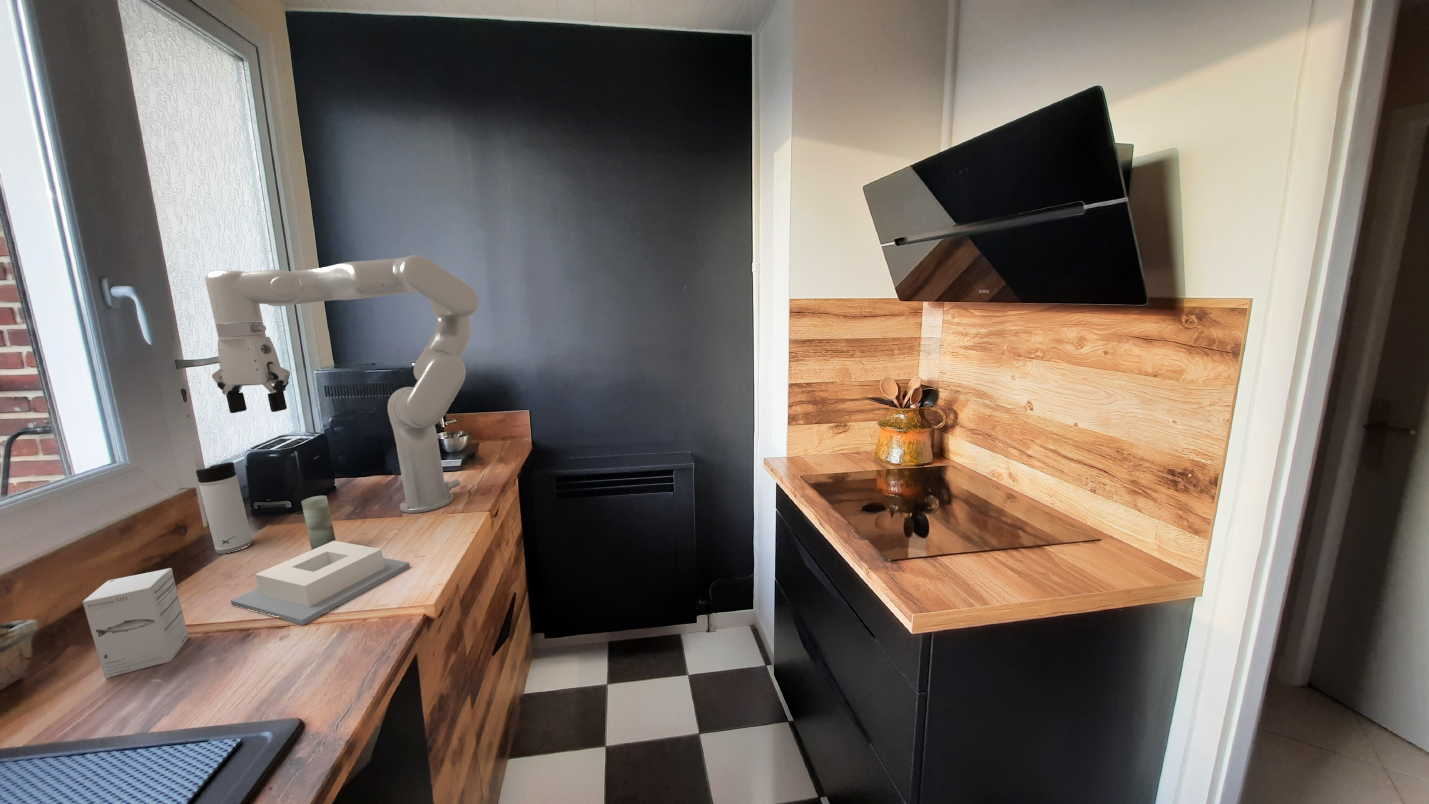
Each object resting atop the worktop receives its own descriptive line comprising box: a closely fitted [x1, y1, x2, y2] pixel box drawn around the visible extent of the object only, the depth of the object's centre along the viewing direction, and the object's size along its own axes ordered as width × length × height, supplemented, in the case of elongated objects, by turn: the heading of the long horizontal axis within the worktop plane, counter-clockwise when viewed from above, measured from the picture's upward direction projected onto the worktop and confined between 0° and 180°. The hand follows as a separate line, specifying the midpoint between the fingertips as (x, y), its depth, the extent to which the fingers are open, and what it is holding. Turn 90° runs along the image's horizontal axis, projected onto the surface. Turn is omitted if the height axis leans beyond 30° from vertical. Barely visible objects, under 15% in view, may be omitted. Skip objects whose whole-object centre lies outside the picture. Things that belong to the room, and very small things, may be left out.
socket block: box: [230, 540, 411, 626], centre depth 100 cm, size 20×20×5 cm
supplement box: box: [82, 567, 189, 680], centre depth 80 cm, size 7×7×13 cm
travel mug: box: [195, 461, 253, 555], centre depth 117 cm, size 6×7×20 cm
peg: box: [301, 495, 337, 550], centre depth 114 cm, size 4×4×12 cm
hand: (258, 411), depth 113 cm, fingers open, 9 cm apart
